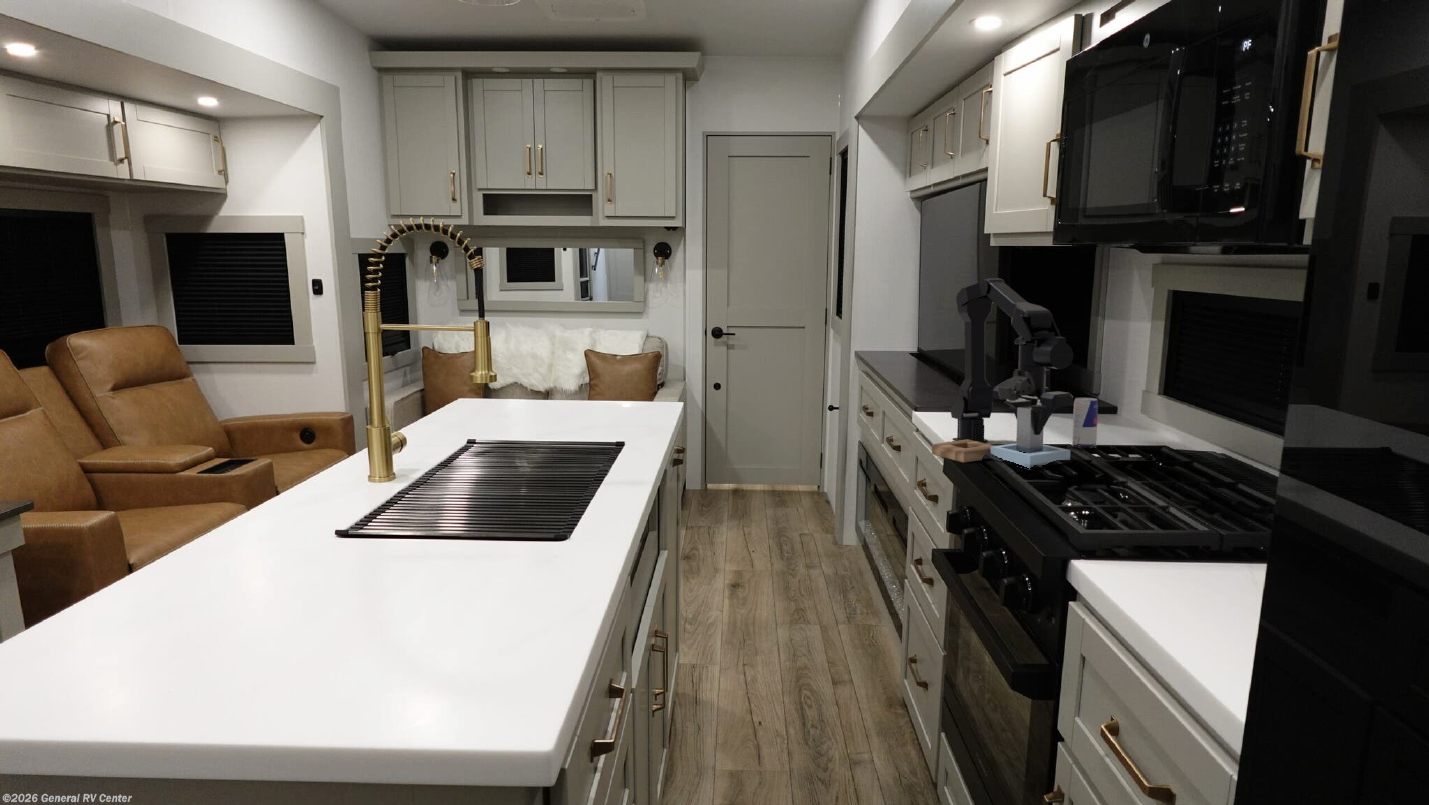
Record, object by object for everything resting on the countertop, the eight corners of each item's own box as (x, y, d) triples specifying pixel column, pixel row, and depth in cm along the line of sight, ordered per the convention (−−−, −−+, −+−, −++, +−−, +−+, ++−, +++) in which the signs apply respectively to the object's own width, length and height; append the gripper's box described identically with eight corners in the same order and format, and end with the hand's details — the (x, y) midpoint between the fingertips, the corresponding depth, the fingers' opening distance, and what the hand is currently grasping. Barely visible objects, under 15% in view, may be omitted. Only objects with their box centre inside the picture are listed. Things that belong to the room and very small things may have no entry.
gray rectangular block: (1016, 450, 181) (1017, 407, 180) (1029, 448, 183) (1030, 405, 181) (1029, 453, 178) (1030, 409, 176) (1042, 451, 179) (1044, 407, 178)
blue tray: (990, 459, 184) (990, 446, 183) (1029, 453, 188) (1029, 441, 188) (1029, 469, 173) (1030, 455, 172) (1069, 463, 177) (1070, 450, 177)
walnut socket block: (932, 454, 191) (932, 443, 191) (967, 449, 195) (967, 439, 195) (963, 462, 181) (963, 451, 181) (1000, 457, 185) (1000, 446, 185)
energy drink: (1100, 449, 191) (1102, 400, 190) (1077, 449, 192) (1079, 400, 190) (1090, 444, 197) (1092, 397, 195) (1068, 445, 197) (1070, 397, 195)
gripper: (975, 364, 183) (973, 430, 185) (1037, 371, 166) (1035, 443, 168) (1011, 361, 187) (1009, 426, 189) (1076, 367, 170) (1073, 438, 172)
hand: (1030, 433), depth 180 cm, fingers closed on gray rectangular block, 4 cm apart
